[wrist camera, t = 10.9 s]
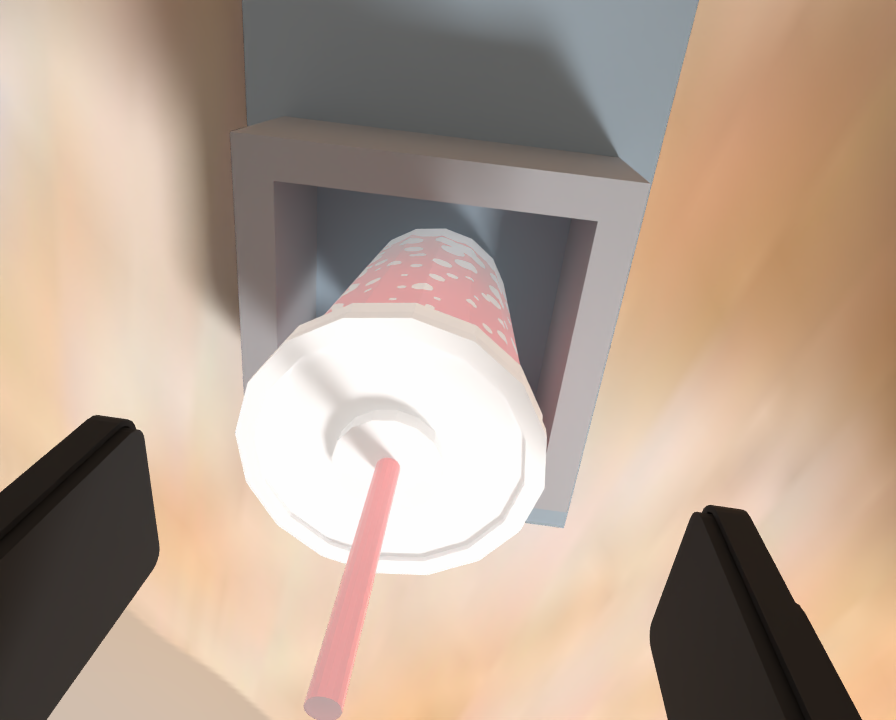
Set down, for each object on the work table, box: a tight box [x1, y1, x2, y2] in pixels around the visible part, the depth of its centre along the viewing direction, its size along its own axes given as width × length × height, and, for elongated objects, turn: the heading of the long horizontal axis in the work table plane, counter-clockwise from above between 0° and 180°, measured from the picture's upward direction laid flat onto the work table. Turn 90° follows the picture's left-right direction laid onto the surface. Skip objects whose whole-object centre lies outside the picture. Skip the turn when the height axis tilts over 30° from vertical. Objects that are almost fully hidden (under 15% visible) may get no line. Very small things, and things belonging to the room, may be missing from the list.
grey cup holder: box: [230, 0, 699, 528], centre depth 18 cm, size 18×12×5 cm, turn 174°
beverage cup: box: [235, 229, 547, 720], centre depth 14 cm, size 6×6×14 cm
